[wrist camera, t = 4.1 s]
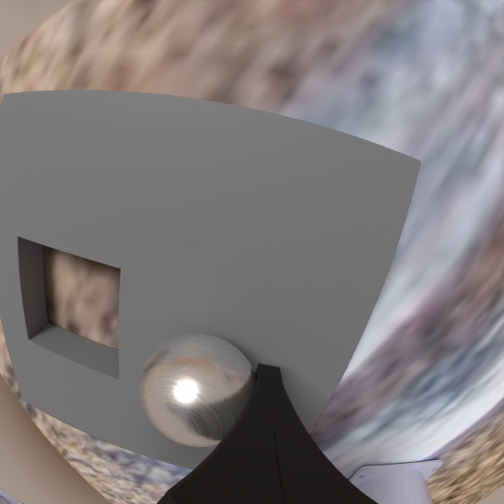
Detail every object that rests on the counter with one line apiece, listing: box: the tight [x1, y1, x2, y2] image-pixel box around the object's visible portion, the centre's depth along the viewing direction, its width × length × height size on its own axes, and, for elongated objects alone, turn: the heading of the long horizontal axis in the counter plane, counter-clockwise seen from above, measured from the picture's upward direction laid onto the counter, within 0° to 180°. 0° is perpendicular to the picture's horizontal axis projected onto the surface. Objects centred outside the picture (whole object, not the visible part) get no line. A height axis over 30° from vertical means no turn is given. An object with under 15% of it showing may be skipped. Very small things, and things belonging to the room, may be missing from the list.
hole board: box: [0, 90, 421, 470], centre depth 12 cm, size 18×17×2 cm
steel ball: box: [139, 333, 256, 447], centre depth 9 cm, size 4×4×4 cm
